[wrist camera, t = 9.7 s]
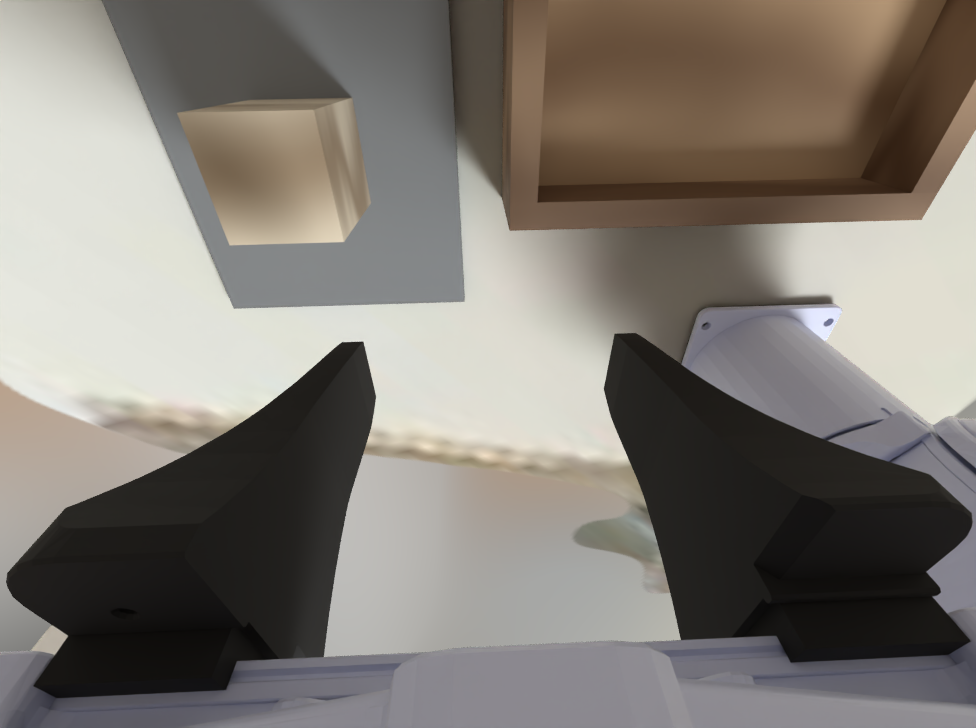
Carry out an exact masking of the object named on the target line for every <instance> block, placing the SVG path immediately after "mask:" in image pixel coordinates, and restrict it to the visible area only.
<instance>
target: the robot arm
mask: <svg viewBox="0 0 976 728" xmlns="http://www.w3.org/2000/svg"><path fill="white" fill-rule="evenodd" d="M841 312H842V309H841V308H840V307H839V306H838V305H836V304H809V305H777V306H744V307H711V308H705V309H703V310H701V311H700V312H699V313H698V315H697V318H696V321H695V324H694V327H693V330H692V333H691V336H690V339H689V343H688V346H687V349H686V352H685V355H684V358H683V361H682V364H680V363H678V362H677V361H675V360H674V359H673V358H671V357H670V356H668V355H667V354H666V353H664V352H663V351H661V350H660V349H659V348H657V347H656V346H654V345H653V344H652V343H650V342H649V341H647V340H646V339H644V338H643V337H641V336H640V335H638V334H636V333H624V334H615V335H614V340H613V345H612V350H611V355H610V360H609V365H608V370H607V376H606V381H605V386H604V391H605V395H606V399H607V404H608V407H609V411H610V414H611V418H612V420H613V423H614V425H615V428H616V430H617V433H618V435H619V437H620V440H621V442H622V444H623V447H624V449H625V451H626V454H627V456H628V458H629V461H630V463H631V465H632V468H633V470H634V473H635V475H636V477H637V480H638V482H639V485H640V487H641V490H642V493H643V495H644V498H645V502H646V505H647V508H648V512H649V515H650V518H651V522H652V525H653V528H654V532H655V536H656V539H657V543H658V546H659V550H660V554H661V557H662V561H663V565H664V569H665V573H666V577H667V581H668V585H669V589H670V593H671V597H672V601H673V606H674V610H675V615H676V619H677V623H678V629H679V633H680V637H681V640H676V641H653V642H625V641H597V642H596V641H594V642H575V643H574V642H572V643H551V644H530V645H509V646H489V647H467V648H452V649H445V650H439V651H433V652H421V653H399V654H380V655H356V656H336V657H324V649H325V642H326V633H327V626H328V617H329V611H330V604H331V597H332V590H333V584H334V577H335V570H336V565H337V559H338V554H339V548H340V542H341V536H342V531H343V526H344V521H345V516H346V511H347V506H348V502H349V498H350V494H351V491H352V488H353V484H354V481H355V478H356V475H357V472H358V468H359V465H360V462H361V459H362V456H363V452H364V449H365V446H366V443H367V439H368V436H369V433H370V429H371V425H372V419H373V414H374V407H375V400H376V395H375V390H374V386H373V382H372V377H371V373H370V369H369V364H368V360H367V356H366V351H365V347H364V343H363V342H342V343H340V344H339V345H338V346H337V347H336V348H334V349H333V350H332V351H331V352H330V353H329V354H327V355H326V356H325V357H324V358H323V359H322V360H321V361H320V362H319V363H317V364H316V365H315V366H314V367H313V368H312V369H311V370H309V371H308V372H307V373H306V374H305V375H304V376H303V377H301V378H300V379H299V380H298V381H297V382H296V383H294V384H293V385H292V386H291V387H289V388H288V389H287V390H285V391H284V392H283V393H282V394H280V395H279V396H278V397H277V398H275V399H274V400H273V401H272V402H270V403H269V404H268V405H266V406H265V407H264V408H262V409H261V410H259V411H258V412H257V413H255V414H254V415H252V416H251V417H249V418H248V419H246V420H245V421H243V422H242V423H240V424H239V425H237V426H236V427H234V428H232V429H231V430H229V431H228V432H226V433H224V434H223V435H221V436H219V437H217V438H215V439H214V440H212V441H210V442H208V443H207V444H205V445H203V446H201V447H200V448H198V449H196V450H194V451H193V452H191V453H189V454H187V455H185V456H183V457H181V458H179V459H177V460H175V461H173V462H171V463H169V464H167V465H166V466H163V467H161V468H159V469H157V470H155V471H153V472H151V473H148V474H146V475H144V476H142V477H140V478H138V479H135V480H133V481H131V482H129V483H126V484H124V485H122V486H119V487H117V488H114V489H112V490H110V491H107V492H105V493H102V494H100V495H97V496H95V497H93V498H90V499H88V500H85V501H83V502H80V503H78V504H75V505H73V506H70V507H67V508H66V509H64V511H63V512H62V513H61V514H60V515H59V516H58V517H57V519H55V521H54V522H53V523H52V524H51V525H50V527H48V528H47V530H46V531H45V532H44V533H43V534H42V535H41V536H40V537H39V539H37V541H36V542H35V543H34V544H33V545H32V546H31V547H30V548H29V549H28V551H27V552H26V553H25V554H24V555H23V556H22V557H21V558H20V559H19V561H18V562H17V563H16V564H15V565H14V566H13V567H12V569H11V570H10V571H9V572H8V573H7V580H6V583H7V586H8V589H9V591H10V592H11V594H12V596H13V597H14V598H15V599H16V600H17V601H18V602H20V603H21V604H22V605H23V606H25V607H26V608H28V609H29V610H31V611H32V612H34V613H35V614H36V615H38V616H39V617H41V618H42V619H44V620H45V621H47V622H48V623H50V624H51V625H53V626H54V627H56V628H57V629H59V630H60V631H62V632H63V633H65V634H66V635H68V637H67V638H66V640H65V641H64V643H63V644H62V645H61V647H60V648H59V650H58V651H57V653H56V654H55V655H53V654H50V653H46V652H41V651H15V652H0V728H976V419H968V418H962V419H959V418H957V417H953V416H948V417H945V418H944V419H942V420H941V421H939V422H938V423H936V424H935V425H932V424H930V423H928V422H927V421H926V420H924V419H923V418H922V417H921V416H919V415H918V414H917V413H915V412H914V411H913V410H912V409H910V408H909V407H908V406H907V405H905V404H904V403H903V402H901V401H900V400H899V399H898V398H896V397H895V396H894V395H893V394H891V393H890V392H889V391H888V390H886V389H885V388H884V387H882V386H881V385H880V384H879V383H877V382H876V381H875V380H874V379H872V378H871V377H870V376H869V375H867V374H866V373H865V372H863V371H862V370H861V369H860V368H858V367H857V366H856V365H855V364H853V363H852V362H851V361H849V360H848V359H847V358H846V357H844V356H843V355H842V354H841V353H839V352H838V351H837V350H836V349H834V348H833V347H832V346H830V345H829V344H828V343H827V342H826V340H827V338H828V336H829V334H830V333H831V331H832V329H833V327H834V326H835V324H836V322H837V320H838V318H839V317H840V315H841ZM827 319H828V320H827ZM826 320H827V321H826ZM825 321H826V322H825ZM706 322H708V323H707V324H706V325H705V326H703V327H702V325H703V324H704V323H706Z"/></svg>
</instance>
